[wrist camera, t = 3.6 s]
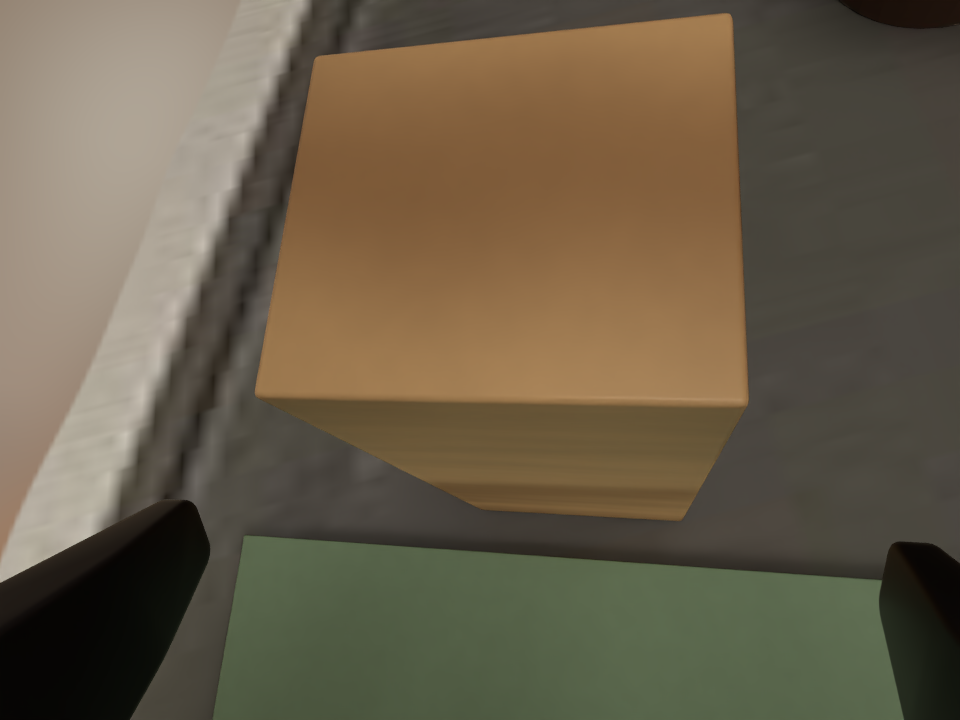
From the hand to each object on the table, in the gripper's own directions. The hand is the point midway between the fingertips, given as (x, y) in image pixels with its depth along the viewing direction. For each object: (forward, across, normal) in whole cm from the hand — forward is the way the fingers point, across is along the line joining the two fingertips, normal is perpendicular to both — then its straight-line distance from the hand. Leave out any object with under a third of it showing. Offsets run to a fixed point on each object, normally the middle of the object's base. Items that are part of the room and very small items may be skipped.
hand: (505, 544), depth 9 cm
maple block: (+10, 0, +5) cm, 11 cm away
